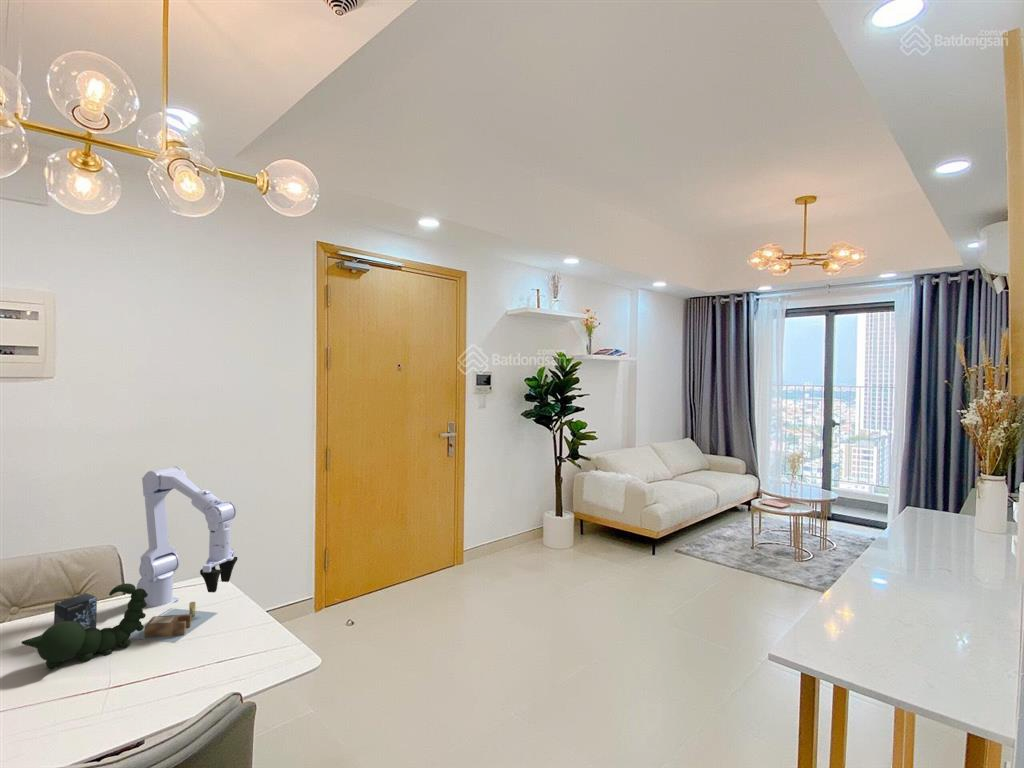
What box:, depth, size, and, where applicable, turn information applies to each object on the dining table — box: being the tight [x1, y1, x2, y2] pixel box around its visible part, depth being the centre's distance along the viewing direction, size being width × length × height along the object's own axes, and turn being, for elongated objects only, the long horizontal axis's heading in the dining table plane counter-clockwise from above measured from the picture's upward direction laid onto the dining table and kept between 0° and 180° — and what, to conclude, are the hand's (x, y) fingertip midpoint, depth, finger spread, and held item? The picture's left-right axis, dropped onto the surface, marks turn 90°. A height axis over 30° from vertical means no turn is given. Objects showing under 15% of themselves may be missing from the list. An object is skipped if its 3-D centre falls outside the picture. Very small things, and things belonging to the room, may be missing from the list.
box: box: [53, 592, 98, 629], centre depth 147 cm, size 8×6×11 cm
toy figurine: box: [21, 582, 148, 671], centre depth 136 cm, size 9×19×25 cm
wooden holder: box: [144, 614, 192, 638], centre depth 150 cm, size 10×6×4 cm, turn 104°
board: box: [129, 607, 218, 644], centre depth 155 cm, size 16×18×1 cm
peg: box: [188, 601, 197, 618], centre depth 159 cm, size 2×2×4 cm
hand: (218, 586), depth 160 cm, fingers open, 7 cm apart
